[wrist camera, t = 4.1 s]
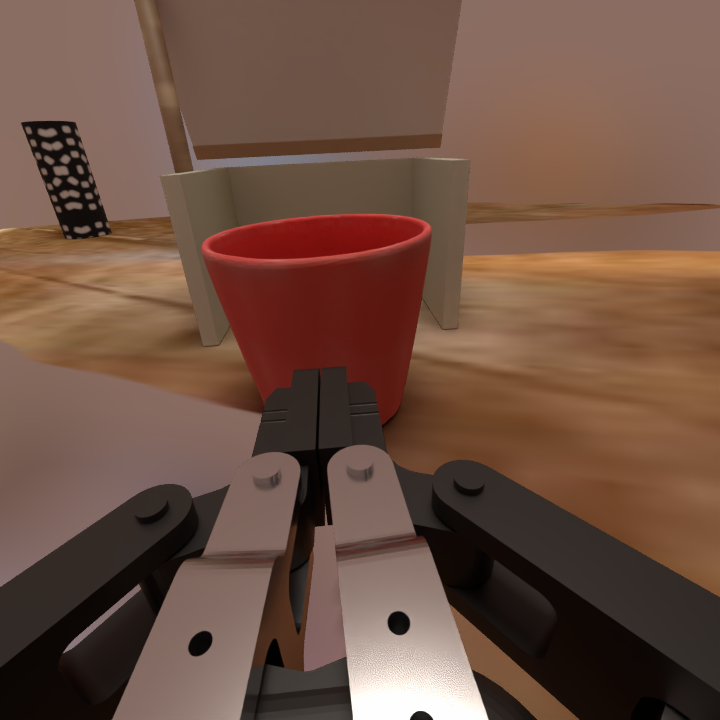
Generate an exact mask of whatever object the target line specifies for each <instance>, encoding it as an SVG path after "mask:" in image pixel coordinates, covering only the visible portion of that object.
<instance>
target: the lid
mask: <svg viewBox="0 0 720 720" xmlns="http://www.w3.org/2000/svg"><path fill="white" fill-rule="evenodd" d="M156 2H157V6H158V11H159V15H160V20H161V25H162V29H163V34H164V38H165V43H166V47H167V52H168V57H169V61H170V66H171V70H172V75H173V80H174V84H175V89H176V93H177V98H178V102H179V106H180V109H181V112H182V115H183V118H184V120H185V124H186V126H187V130H188V132H189V135H190V138H191V141H192V144H193V148H194V152H195V155H196V158H197V160H204V159H224V158H243V157H262V156H282V155H301V154H302V155H303V154H322V153H341V152H362V151H381V150H401V149H421V148H440V145H441V139H442V130H443V123H444V116H445V110H446V103H447V96H448V90H449V83H450V76H451V70H452V62H453V56H454V50H455V43H456V37H457V30H458V22H459V17H460V10H461V3H462V0H156Z"/></svg>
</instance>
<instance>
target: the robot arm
mask: <svg viewBox="0 0 720 720" xmlns="http://www.w3.org/2000/svg"><path fill="white" fill-rule="evenodd" d="M325 506H326V514H327V522H328V525H333V529H334V539H335V549H336V559H337V568H338V579H339V588H340V598H341V607H342V617H343V626H344V635H345V645H346V654H347V657H344V658H342V659H339V660H337V661H335V662H332V663H330V664H327V665H325V666H323V667H320V668H318V669H316V670H313V671H308V672H304V657H303V655H304V638H305V630H306V620H307V612H308V604H309V595H310V585H311V578H312V569H313V560H314V555H313V547H314V533H315V531H314V530H315V527H317V526H325ZM138 584H139V585H140V587H141V590H140V591H139V592H138V593H136V594H135V595H134V596H133V597H132V598H131V599H129V600H128V601H127V602H126V603H125V604H124V605H123V606H121V607H120V608H119V609H118V610H117V611H116V612H115V613H113V614H112V615H111V616H110V617H109V618H108V619H106V620H105V621H104V622H103V623H102V624H101V625H100V626H98V627H97V628H96V629H95V630H94V631H93V632H91V633H90V634H89V635H88V636H87V637H86V638H85V639H83V640H82V641H81V642H80V643H79V644H78V645H76V646H75V647H74V648H72V649H71V650H69V651H67V652H65V653H63V652H64V650H65V649H66V647H67V646H68V645H69V644H70V643H71V642H72V641H73V640H74V639H75V638H76V637H77V636H78V635H79V634H80V633H82V632H83V631H84V630H85V629H86V628H87V627H89V626H90V625H91V624H92V623H93V622H94V621H96V620H97V619H98V618H99V617H100V616H101V615H103V614H104V613H105V612H106V611H107V610H109V608H111V607H112V606H113V605H114V604H116V603H117V602H118V601H119V600H120V599H121V598H122V597H124V596H125V595H126V594H127V593H128V592H130V591H131V590H132V589H133V588H134V587H135V586H137V585H138ZM449 604H450V605H451V606H453V607H454V608H455V609H456V610H457V611H458V612H459V613H460V614H462V615H463V616H464V617H465V618H466V619H467V620H468V621H469V622H471V623H472V624H473V625H474V626H475V627H476V628H477V629H478V630H480V631H481V632H482V633H483V634H484V635H485V636H486V637H487V638H489V639H490V640H491V641H492V642H493V643H494V644H495V645H496V646H498V647H499V648H500V649H501V650H502V651H503V652H504V653H505V654H507V655H508V656H509V657H510V658H511V659H512V660H513V661H514V662H516V663H517V664H518V665H519V666H520V667H521V668H522V669H523V670H524V671H526V672H527V673H528V674H529V675H530V676H531V677H532V678H533V679H535V680H536V681H537V682H538V683H539V684H540V685H541V686H542V687H544V688H545V689H546V690H547V691H548V692H549V693H550V694H551V695H553V696H554V697H555V698H556V699H557V700H558V701H559V702H560V703H562V704H563V705H564V706H565V707H566V708H567V709H568V710H569V711H571V712H572V713H573V714H574V715H575V716H576V717H577V718H578V719H580V720H720V597H718V596H717V595H715V594H713V593H711V592H710V591H708V590H706V589H704V588H702V587H701V586H699V585H697V584H695V583H694V582H692V581H690V580H688V579H686V578H685V577H683V576H681V575H679V574H678V573H676V572H674V571H672V570H670V569H669V568H667V567H665V566H663V565H662V564H660V563H658V562H656V561H654V560H653V559H651V558H649V557H647V556H646V555H644V554H642V553H640V552H639V551H637V550H635V549H633V548H631V547H630V546H628V545H626V544H624V543H623V542H621V541H619V540H617V539H615V538H614V537H612V536H610V535H608V534H607V533H605V532H603V531H601V530H599V529H598V528H596V527H594V526H592V525H591V524H589V523H587V522H585V521H584V520H582V519H580V518H578V517H576V516H575V515H573V514H571V513H569V512H568V511H566V510H564V509H562V508H560V507H559V506H557V505H555V504H553V503H552V502H550V501H548V500H546V499H544V498H543V497H541V496H539V495H537V494H536V493H534V492H532V491H530V490H528V489H527V488H525V487H523V486H521V485H520V484H518V483H516V482H514V481H513V480H511V479H509V478H507V477H505V476H504V475H502V474H500V473H498V472H497V471H495V470H493V469H491V468H489V467H488V466H486V465H483V464H481V463H478V462H474V461H469V460H456V461H451V462H448V463H445V464H443V465H442V466H440V467H439V468H438V469H437V470H436V472H435V473H434V475H429V474H423V473H417V472H412V471H409V470H407V469H404V468H402V467H400V466H399V465H397V464H396V463H395V462H394V461H393V460H392V459H391V458H390V456H389V455H388V453H387V450H386V445H385V440H384V435H383V430H382V425H381V420H380V415H379V410H378V405H377V400H376V395H375V390H374V389H373V388H372V387H371V386H370V385H369V384H368V383H367V382H366V381H364V382H351V383H347V373H346V366H339V367H325V368H321V377H320V370H319V368H313V369H300V370H294V371H293V377H292V383H291V387H287V388H276V389H275V390H274V391H273V392H272V393H271V394H270V396H269V397H268V398H267V399H266V402H265V406H264V410H263V414H262V418H261V423H260V426H259V430H258V434H257V438H256V442H255V446H254V450H253V454H252V458H251V459H249V460H247V461H246V462H244V463H243V464H242V465H241V466H240V467H239V468H238V469H237V471H236V472H235V474H234V477H233V479H232V482H231V484H230V485H228V486H226V487H224V488H222V489H219V490H216V491H213V492H211V493H207V494H204V495H201V496H198V497H195V498H192V497H191V494H190V492H189V491H188V490H187V489H186V488H185V487H182V486H180V485H175V484H165V485H159V486H155V487H152V488H149V489H147V490H144V491H142V492H140V493H138V494H137V495H135V496H134V497H132V498H131V499H129V500H128V501H126V502H125V503H123V504H122V505H120V506H119V507H118V508H116V509H115V510H113V511H112V512H110V513H109V514H107V515H106V516H104V517H103V518H101V519H100V520H98V521H97V522H95V523H94V524H93V525H91V526H90V527H88V528H87V529H85V530H84V531H82V532H81V533H79V534H78V535H76V536H75V537H73V538H72V539H71V540H69V541H68V542H66V543H65V544H63V545H62V546H60V547H59V548H58V549H56V550H54V551H53V552H51V553H50V554H48V555H47V556H45V557H44V558H43V559H41V560H40V561H38V562H37V563H35V564H34V565H33V566H31V567H29V568H28V569H26V570H25V571H24V572H22V573H21V574H19V575H18V576H16V577H15V578H13V579H12V580H10V581H9V582H7V583H6V584H4V585H3V586H2V587H0V720H537V719H536V718H535V717H534V716H533V715H532V714H531V713H530V712H529V711H528V710H527V709H526V708H525V707H524V706H523V705H522V704H521V703H520V702H519V701H518V700H516V699H515V698H514V697H513V696H512V695H510V694H509V693H508V692H507V691H505V690H504V689H503V688H502V687H501V686H499V685H498V684H496V683H495V682H493V681H491V680H490V679H488V678H487V677H485V676H484V675H482V674H480V673H478V672H476V671H474V670H472V669H471V667H470V664H469V661H468V658H467V656H466V653H465V650H464V647H463V644H462V641H461V638H460V635H459V632H458V629H457V627H456V624H455V621H454V618H453V615H452V612H451V609H450V606H449ZM62 653H63V654H62Z"/></svg>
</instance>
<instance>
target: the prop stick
mask: <svg viewBox="0 0 720 720" xmlns="http://www.w3.org/2000/svg"><path fill="white" fill-rule="evenodd" d="M134 1H135V6H136V10H137V14H138V18H139V22H140V27H141V31H142V35H143V39H144V44H145V48H146V52H147V56H148V60H149V65H150V69H151V73H152V77H153V81H154V86H155V90H156V94H157V98H158V102H159V107H160V111H161V115H162V119H163V123H164V127H165V131H166V136H167V140H168V144H169V148H170V153H171V157H172V161H173V165H174V169H175V174H176V173H184V172H191V171H193V167H192V162H191V158H190V153H189V149H188V144H187V139H186V135H185V130H184V126H183V121H182V117H181V112H180V107H179V102H178V98H177V93H176V89H175V84H174V80H173V75H172V70H171V66H170V61H169V57H168V52H167V47H166V43H165V38H164V34H163V29H162V25H161V20H160V15H159V11H158V6H157V2H156V0H134Z"/></svg>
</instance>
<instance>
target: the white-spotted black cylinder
mask: <svg viewBox="0 0 720 720" xmlns="http://www.w3.org/2000/svg"><path fill="white" fill-rule="evenodd" d="M21 124H22V127H23V130H24V132H25V135H26V137H27V140H28V142H29V145H30V148H31V150H32V153H33V156H34V158H35V161H36V163H37V166H38V169H39V171H40V174H41V176H42V179H43V182H44V184H45V187H46V190H47V192H48V195H49V197H50V200H51V203H52V205H53V208H54V210H55V212H56V216H57V218H58V220H59V223H60V226H61V229H62V231H63V234H64V237H65V238H66V239H82V238H91V237H98V236H103V235H107V234H110V233H111V230H110V227H109V223H108V220H107V218H106V214H105V211H104V208H103V205H102V202H101V199H100V196H99V193H98V190H97V187H96V184H95V181H94V178H93V175H92V172H91V169H90V165H89V162H88V160H87V156H86V154H85V150H84V147H83V144H82V141H81V138H80V135H79V132H78V129H77V126H76V123H75V122H67V121H33V122H22V123H21Z"/></svg>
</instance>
